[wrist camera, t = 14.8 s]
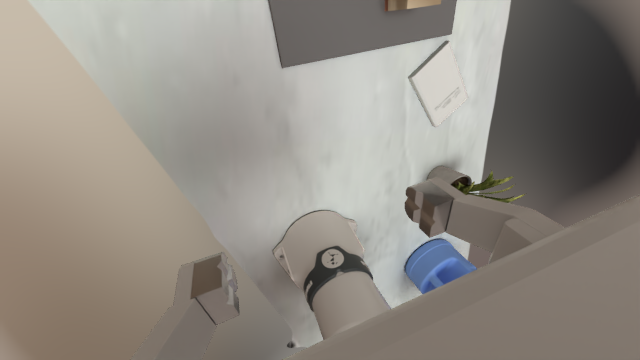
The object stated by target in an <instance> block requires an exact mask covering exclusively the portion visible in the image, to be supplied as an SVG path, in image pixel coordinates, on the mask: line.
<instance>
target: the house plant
mask: <svg viewBox="0 0 640 360" xmlns="http://www.w3.org/2000/svg"><path fill="white" fill-rule="evenodd" d="M492 176H493V173H492V172H491V174H490V175H489V177H488V178H487V179H486V180H485V181H484V182H482V183H480V184H476V185H474V182H475V181H474V182H473V183H472V181H471V178H470V177H469V176H467V175H465V174H462V173H459V172H457V171H454V170H451V169H449V168H446V167H444V166H438V167H436V168H434V169H433V170H432V171H431V172H430V174H429V175H428V178H427V180H429V179H432V178H435V177H438V178H441V179H442V180H444V181H445V182H447V183H448V184H450V185H451V186H453V187H454V188H456V189H457V190H459V191H460V192H462V193H463V194H465V195H468V194H470V195H474V196H479V197H484V198H490V199H492V200H496V201H500V202H505V203H508V202H511V201H514V200H516V199H518V198H520V197H522V196H524V195H521V196H519V197H515V198H512V197H511V198H512V199H510V198H506V199H500V198H493V197H486V196H483V195H475V194H481V193H469V192H473V191H479V190H484V189H488V188H491V187H494V186H496V185H499V184H502V183H504V182H506V181H508V180H509V179H511V178H512V177H508V178H505V179H499V180H493V178H492ZM512 187H513V186H511V187H510V188H512ZM510 188H507V189H505V190H508V189H510ZM505 190H501V191H497V192H491V193H482V194H493V193H499V192H503V191H505ZM477 247H478V246H477Z"/></svg>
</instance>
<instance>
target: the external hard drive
mask: <svg viewBox="0 0 640 360" xmlns="http://www.w3.org/2000/svg"><path fill="white" fill-rule="evenodd" d="M408 79H409V80H410V82H411V84H412V86H413V88H414V90H415V92H416V94H417V96H418V98H419V100H420V102H421V104H422V106H423V108H424V110H425V112H426V114H427V116H428V118H429V120H430V121H431V124H432V125H433V126H434V127H437V126H439V125H440V124H441V123H442V122H443V121H444V120H445V119H446V118H447V117H448V116H449V115H450V114H451V113H453V112H454V111H455V110H456V109H457V108H458V107H459V106H460V105H461V104H462V103H464V102H465V101H466V100H467V99H468V94H467V92H466V89H465V86H464V82H463V80H462V77H461V74H460V71H459V68H458V65H457V62H456V59H455V56H454V53H453V50H452V47H451V44H450V41H445V42H444V43H443V44H442V45H441V46H440V47H439V48H438V49H437V50H436V51H435V52H434V53H433V54H432V55H431V56H430V57H429V58H427V59H426V60H425V61H424V62H423V63H422V64H421V65H420V66H419V67H418V68H417V69H416V70H415V71H414V72H413V73H412V74H411V75H410V76H409V77H408Z"/></svg>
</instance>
